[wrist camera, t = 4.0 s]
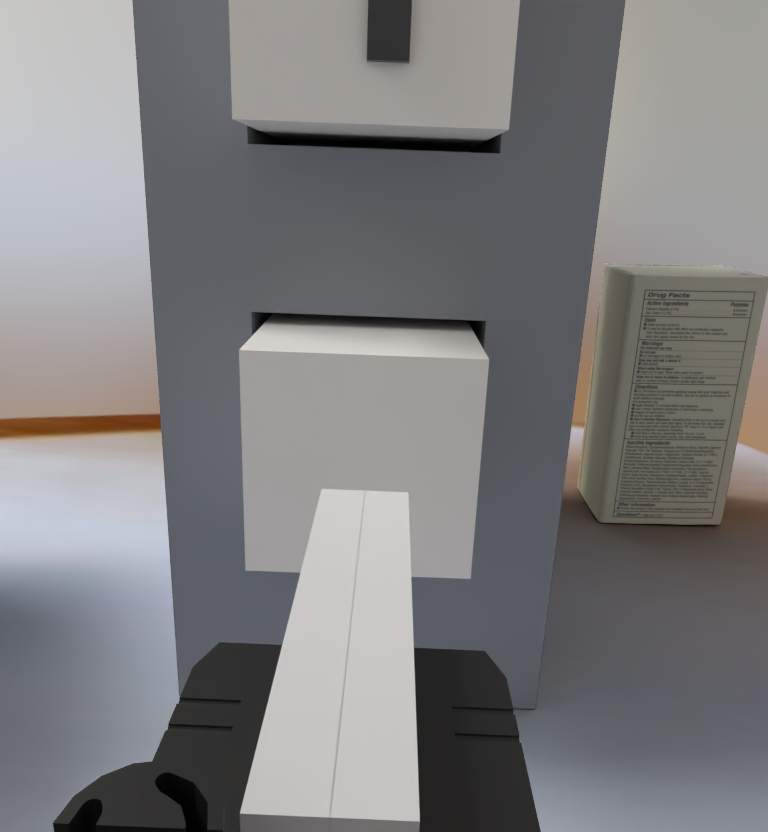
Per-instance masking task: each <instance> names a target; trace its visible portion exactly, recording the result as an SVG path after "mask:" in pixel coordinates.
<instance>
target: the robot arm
mask: <svg viewBox="0 0 768 832" xmlns="http://www.w3.org/2000/svg"><path fill="white" fill-rule="evenodd" d="M53 826H54V832H541V831H540V827H539V822H538V818H537V813H536V809H535V804H534V800H533V795H532V791H531V786H530V782H529V777H528V773H527V768H526V764H525V759H524V755H523V750H522V746H521V743H520V742H519V732H518V728H517V723H516V719H515V715H513V705H512V701H511V696H510V692H509V687H508V683H507V678H506V677H505V675H504V674H503V673H502V672H501V670H500V669H499V668H498V666H497V665H496V664H495V663H494V661H493V660H492V659H491V658H490V656H489V655H488V654H487V653H486V651H479V650H455V649H431V648H414V639H413V611H412V582H411V553H410V525H409V496H408V492H387V491H362V490H338V489H321V493H320V497H319V501H318V505H317V509H316V513H315V517H314V521H313V525H312V529H311V533H310V537H309V541H308V545H307V549H306V553H305V557H304V561H303V565H302V569H301V573H300V577H299V581H298V585H297V589H296V593H295V597H294V601H293V605H292V608H291V612H290V616H289V620H288V624H287V628H286V632H285V636H284V640H283V644H282V645H274V644H251V643H227V642H219V643H218V644H217V645H216V646H215V647H214V648H212V649H211V650H210V651H209V652H208V653H207V654H206V655H205V656H204V657H203V658H202V659H201V660H200V661H199V662H198V663H197V664H195V665H194V666H193V668H192V670H191V672H190V675H189V677H188V679H187V682H186V684H185V686H184V689H183V691H182V693H181V696H180V701H179V704H177V705H176V707H175V710H174V712H173V714H172V717H171V719H170V721H169V726H168V730H167V731H165V733H164V735H163V738H162V740H161V743H160V745H159V747H158V750H157V752H156V754H155V757H154V759H153V761H152V762H143V763H134V764H131V765H129V766H126V767H123V768H121V769H118V770H116V771H113V772H111V773H108V774H106V775H103V776H101V777H100V778H98V779H97V780H96V781H94V782H93V783H92V784H90V785H89V786H87V787H86V788H85V789H83V790H82V791H81V792H79V793H78V794H76V795H75V796H74V797H73V798H72V799H71V801H70V802H69V803H68V805H67V806H66V807H65V808H64V810H63V811H62V812H61V814H60V815H59V816H58V817H57V819H56V820H55V821H54V823H53Z"/></svg>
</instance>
